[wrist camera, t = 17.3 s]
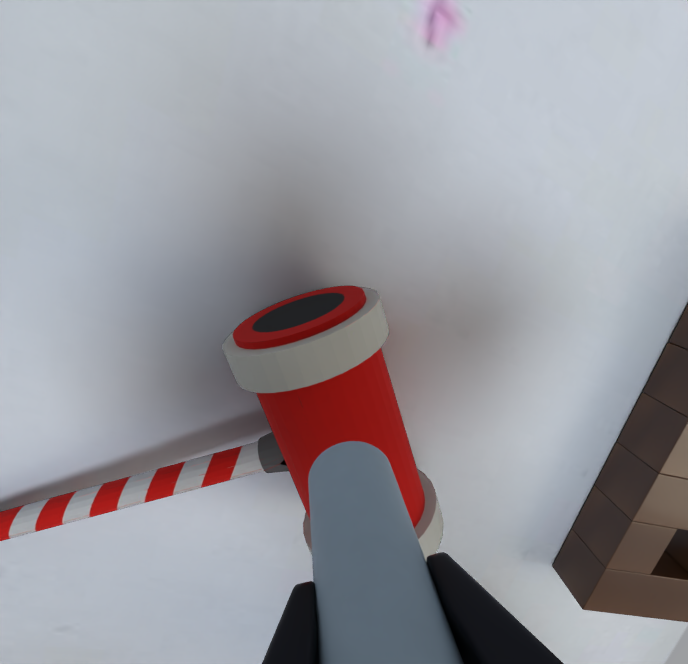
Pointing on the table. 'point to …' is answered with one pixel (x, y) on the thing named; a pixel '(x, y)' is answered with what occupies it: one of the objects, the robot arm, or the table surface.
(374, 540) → the tube grey
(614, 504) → the rack
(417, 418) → the table surface
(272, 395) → the toy hammer
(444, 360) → the table surface
